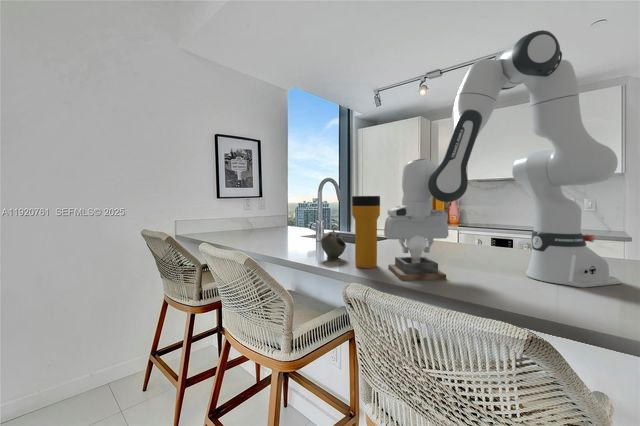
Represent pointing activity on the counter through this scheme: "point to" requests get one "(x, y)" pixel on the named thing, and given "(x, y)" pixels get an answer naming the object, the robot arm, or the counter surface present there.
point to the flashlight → (366, 229)
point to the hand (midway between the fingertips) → (415, 252)
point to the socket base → (416, 269)
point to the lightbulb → (416, 247)
